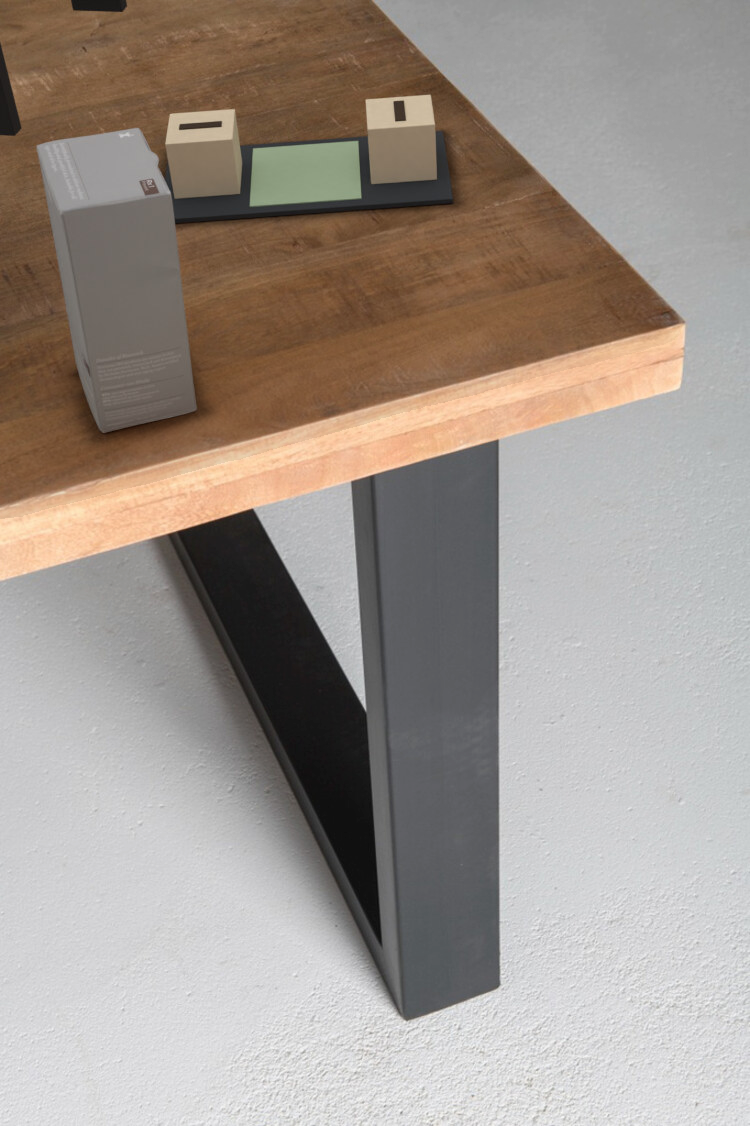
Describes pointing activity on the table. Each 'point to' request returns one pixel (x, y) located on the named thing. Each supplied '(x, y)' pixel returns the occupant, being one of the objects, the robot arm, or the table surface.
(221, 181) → the dark base board
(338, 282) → the table surface
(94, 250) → the cosmetic box
